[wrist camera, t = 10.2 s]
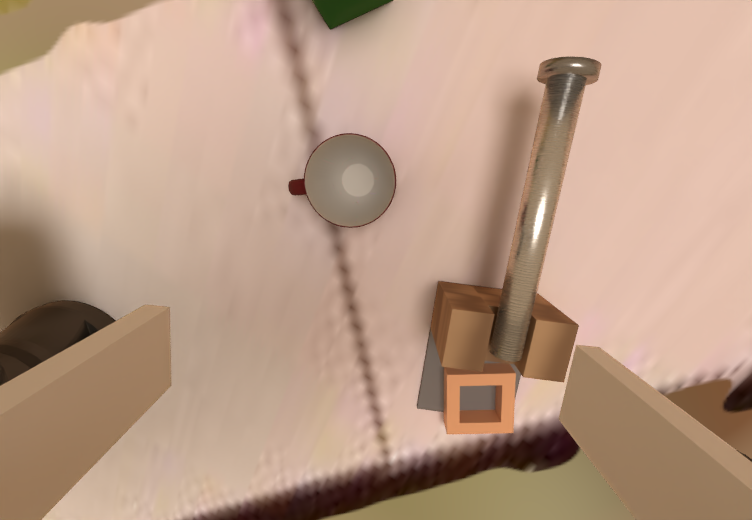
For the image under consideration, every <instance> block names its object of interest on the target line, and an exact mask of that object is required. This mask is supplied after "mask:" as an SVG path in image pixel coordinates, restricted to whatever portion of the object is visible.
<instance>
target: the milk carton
mask: <svg viewBox="0 0 752 520" xmlns="http://www.w3.org/2000/svg"><path fill="white" fill-rule="evenodd" d="M312 1H313V3H314V4H315V6H316V7H317V9H318V11H319V12H320V14H321V15H322V17H323V19H324V20H325V22H326V23H327V25H328V27H329V28H330V29H333V28H335V27H337V26H339V25H341V24H343V23H345V22H348V21H350V20H352V19H354V18H356V17H358V16H360V15H363V14H365V13H367V12H369V11H371V10H373V9H375V8H378V7H380V6H382V5H384V4H386V3H388V2H391V1H393V0H312Z"/></svg>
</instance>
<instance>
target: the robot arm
mask: <svg viewBox="0 0 752 520" xmlns="http://www.w3.org/2000/svg"><path fill="white" fill-rule="evenodd" d="M170 386H171V349H170V307H163V306H153V305H144V306H142V307H140V308H139V309H137V310H135V311H133V312H131V313H130V314H128V315H126V316H124V317H122V318H121V319H119V320H117V321H114V320H113V319H112V318H111V317H109V316H108V315H107V314H105V313H104V312H102V311H100V310H99V309H97V308H95V307H92V306H90V305H87V304H84V303H80V302H75V301H56V302H51V303H48V304H45V305H42V306H40V307H37V308H35V309H32V310H30V311H28V312H26V313H24V314H22V315H20V316H19V317H18V318H16V319H15V320H14V321H13V322H12V323H11V324H10V325H9V326H8V327H7V328H6V329H4V330H3V331H2V332H1V333H0V520H41V519H42V518H43V517H44V516H45V515H46V514H47V513H48V512H49V511H50V510H51V509H52V508H53V507H54V506H55V505H56V504H57V503H58V502H59V501H60V500H61V499H62V498H63V497H64V496H65V494H66V493H67V492H68V491H69V490H70V489H71V488H72V487H73V486H74V485H75V484H76V483H77V482H78V481H79V480H80V479H81V478H82V477H83V476H84V475H85V474H86V473H87V472H88V471H89V470H90V469H91V468H92V467H93V466H94V465H95V464H96V463H97V461H98V460H99V459H100V458H101V457H102V456H103V455H104V454H105V453H106V452H107V451H108V450H109V449H110V448H111V447H112V446H113V445H114V444H115V443H116V442H117V441H118V440H119V439H120V438H121V437H122V436H123V435H124V434H125V433H126V432H127V431H128V429H129V428H130V427H131V426H132V425H133V424H134V423H135V422H136V421H137V420H138V419H139V418H140V417H141V416H142V415H143V414H144V413H145V412H146V411H147V410H148V409H149V408H150V407H151V406H152V405H153V404H154V403H155V402H156V401H157V400H158V399H159V397H160V396H161V395H162V394H163V393H164V392H165V391H166V390H167V389H168V388H169V387H170ZM559 420H560V422H561V423H562V424H563V426H564V427H565V428H566V429H567V431H568V432H569V433H570V435H571V436H572V437H573V439H574V440H575V441H576V443H577V444H578V445H579V446H580V448H581V449H582V450H583V452H584V453H585V454H586V456H587V457H588V458H589V459H590V461H591V462H592V463H593V465H594V466H595V467H596V469H597V470H598V471H599V473H600V474H601V475H602V476H603V478H604V479H605V480H606V482H607V483H608V484H609V486H610V487H611V488H612V490H613V491H614V492H615V493H616V495H617V496H618V497H619V499H620V500H621V501H622V502H623V504H624V505H625V506H626V508H627V509H628V510H629V512H630V513H631V514H632V516H633V517H634V518H635V520H752V459H750V458H749V457H748V456H746V455H745V454H743V453H741V452H739V451H737V450H735V449H734V448H732V447H731V446H730V445H728V444H727V443H726V442H725V441H723V440H722V439H721V438H719V437H718V436H717V435H715V434H714V433H713V432H711V431H710V430H708V429H707V428H706V427H704V426H703V425H702V424H701V423H699V422H698V421H697V420H695V419H694V418H692V417H691V416H690V415H689V414H687V413H686V412H685V411H683V410H682V409H681V408H679V407H678V406H677V405H675V404H674V403H673V402H671V401H670V400H669V399H667V398H666V397H665V396H663V395H662V394H661V393H659V392H658V391H657V390H655V389H654V388H653V387H651V386H650V385H649V384H647V383H646V382H645V381H643V380H642V379H641V378H639V377H638V376H637V375H635V374H634V373H633V372H631V371H630V370H629V369H628V368H626V367H625V366H624V365H622V364H621V363H620V362H618V361H617V360H616V359H614V358H613V357H612V356H610V355H609V354H608V353H606V352H605V351H604V350H602V349H601V348H600V347H592V346H582V345H576V348H575V352H574V356H573V361H572V365H571V369H570V373H569V377H568V382H567V386H566V390H565V394H564V398H563V403H562V407H561V411H560V415H559Z"/></svg>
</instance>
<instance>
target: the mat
mask: <svg viewBox="0 0 752 520" xmlns="http://www.w3.org/2000/svg"><path fill="white" fill-rule="evenodd" d="M485 363H500V362H492V361H485ZM510 365H511V367H512V368H513V370H514V371H515V373H516V381H515V397H516V393H517V389H518V384H519V380H520V376H521V373H520V372H519V370H518V369H517V367H516V366H515V364H510ZM495 398H496V385H487V386H460V410H495ZM417 409H425V410H433V411H441V412H444V367H442V365H441V362H440V358H439V355H438V352H437V348H436V345H435V341H434V338H433V335H432V331H431V328H430V333H429V339H428V345H427V351H426V357H425V363H424V369H423V374H422V380H421V386H420V392H419V398H418V404H417Z"/></svg>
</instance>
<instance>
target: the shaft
mask: <svg viewBox="0 0 752 520" xmlns="http://www.w3.org/2000/svg"><path fill="white" fill-rule="evenodd" d="M600 69H601V63H600V62H598V61H596V60H594V59H590V58H584V57H559V58H553V59H549V60H546V61H544V62H542V63H541V64H540V66H539V71H538V76H537V80H538V81H539V82H541V83H543V84H546V86H545V91H544V96H543V100H542V105H541V110H540V115H539V119H538V124H537V129H536V133H535V138H534V143H533V148H532V152H531V157H530V162H529V166H528V171H527V176H526V180H525V185H524V190H523V195H522V199H521V204H520V209H519V213H518V218H517V223H516V228H515V232H514V237H513V242H512V246H511V251H510V256H509V261H508V265H507V270H506V275H505V279H504V284H503V289H502V293H501V298H500V303H499V308H498V312H497V317H496V322H495V326H494V331H493V336H492V341H491V345H490V350H489V351H490V353H491V354H492V355H494V356H495V357H497V358H499V359H502V360H505V361H510V362H517V361H520V360H521V358H522V354H523V350H524V345H525V341H526V337H527V332H528V328H529V324H530V320H531V315H532V311H533V307H534V303H535V298H536V294H537V290H538V286H539V281H540V277H541V273H542V269H543V264H544V260H545V256H546V252H547V247H548V243H549V239H550V234H551V230H552V226H553V222H554V217H555V213H556V209H557V205H558V200H559V196H560V192H561V188H562V183H563V179H564V175H565V171H566V166H567V162H568V158H569V154H570V149H571V145H572V141H573V136H574V132H575V128H576V124H577V119H578V115H579V111H580V107H581V102H582V98H583V94H584V90H585V85H589V84H592V83H595V82H596V81H597V80H598V78H599V73H600Z"/></svg>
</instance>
